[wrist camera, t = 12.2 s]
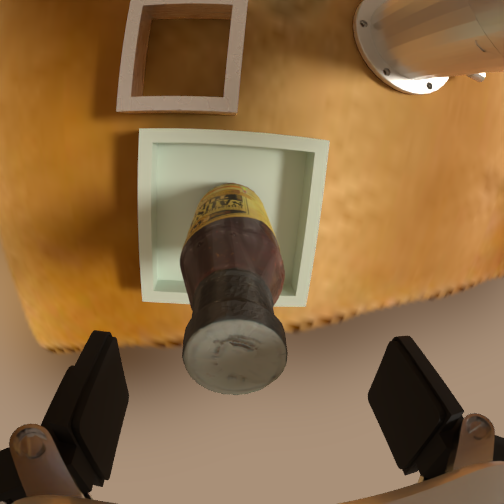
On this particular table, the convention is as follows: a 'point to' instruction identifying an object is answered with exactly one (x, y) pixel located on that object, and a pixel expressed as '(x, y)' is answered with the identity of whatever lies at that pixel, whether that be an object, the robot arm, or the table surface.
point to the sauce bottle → (233, 293)
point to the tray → (218, 173)
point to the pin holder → (136, 45)
